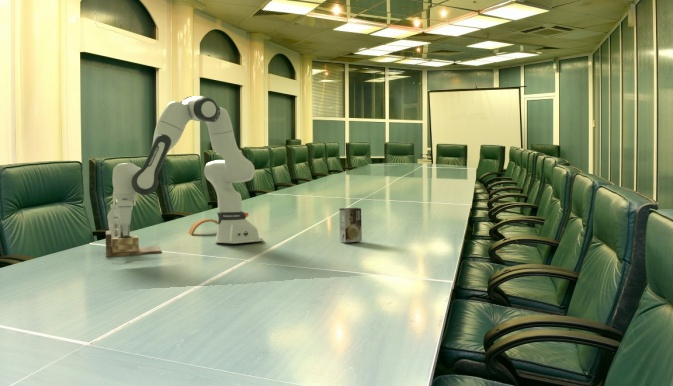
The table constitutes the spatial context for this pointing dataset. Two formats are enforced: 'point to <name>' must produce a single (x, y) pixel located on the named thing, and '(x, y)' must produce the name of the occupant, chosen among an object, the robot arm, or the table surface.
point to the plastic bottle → (114, 221)
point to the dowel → (122, 232)
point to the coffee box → (350, 225)
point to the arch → (200, 224)
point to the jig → (141, 251)
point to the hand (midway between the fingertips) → (125, 234)
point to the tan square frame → (125, 244)
